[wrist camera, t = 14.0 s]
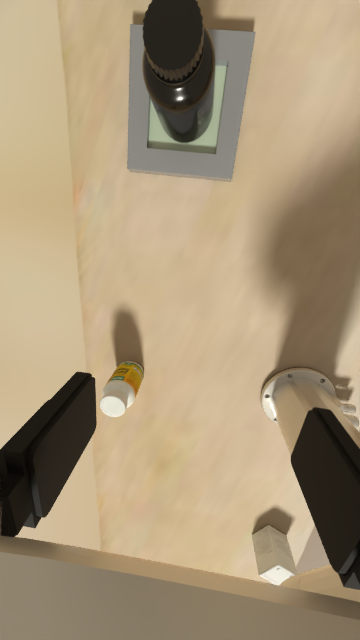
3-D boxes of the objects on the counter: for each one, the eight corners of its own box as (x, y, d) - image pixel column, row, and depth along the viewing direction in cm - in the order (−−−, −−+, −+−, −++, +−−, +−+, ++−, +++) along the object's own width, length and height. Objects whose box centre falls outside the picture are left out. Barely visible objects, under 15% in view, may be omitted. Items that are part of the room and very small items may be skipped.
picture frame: (252, 43, 26) (255, 31, 25) (230, 181, 31) (231, 178, 30) (134, 36, 27) (130, 24, 26) (131, 171, 32) (127, 168, 30)
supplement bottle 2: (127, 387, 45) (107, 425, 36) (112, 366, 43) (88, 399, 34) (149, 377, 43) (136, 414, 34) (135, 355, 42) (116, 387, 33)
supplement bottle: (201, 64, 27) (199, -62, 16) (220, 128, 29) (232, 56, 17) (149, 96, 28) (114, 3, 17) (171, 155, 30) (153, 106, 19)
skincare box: (251, 534, 56) (257, 575, 49) (268, 523, 54) (278, 565, 47) (269, 545, 57) (278, 587, 50) (287, 535, 55) (299, 578, 48)
